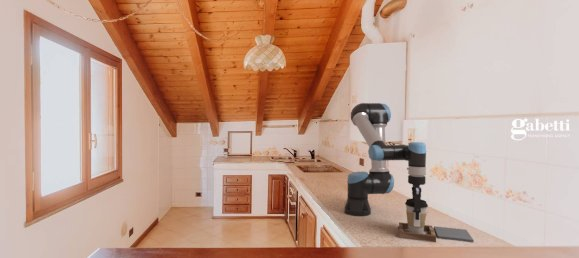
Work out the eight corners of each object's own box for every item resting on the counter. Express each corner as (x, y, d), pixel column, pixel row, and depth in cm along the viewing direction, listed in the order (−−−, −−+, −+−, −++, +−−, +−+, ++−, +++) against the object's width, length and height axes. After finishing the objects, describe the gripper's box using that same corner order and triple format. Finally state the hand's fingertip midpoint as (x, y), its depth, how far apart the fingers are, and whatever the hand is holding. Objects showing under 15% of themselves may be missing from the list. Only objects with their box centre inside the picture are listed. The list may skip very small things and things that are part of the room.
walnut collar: (398, 227, 150) (398, 222, 150) (431, 230, 145) (431, 225, 145) (399, 237, 136) (399, 232, 136) (436, 242, 131) (436, 236, 131)
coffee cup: (421, 228, 146) (421, 198, 146) (431, 236, 136) (432, 203, 136) (401, 229, 146) (401, 198, 145) (410, 236, 136) (410, 203, 135)
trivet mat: (434, 228, 149) (434, 226, 149) (466, 231, 144) (466, 229, 144) (438, 238, 136) (438, 236, 136) (473, 242, 131) (473, 240, 131)
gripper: (407, 171, 152) (406, 215, 153) (409, 178, 131) (408, 229, 131) (423, 172, 150) (422, 216, 150) (428, 180, 129) (427, 231, 129)
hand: (416, 222), depth 141 cm, fingers closed on coffee cup, 10 cm apart
